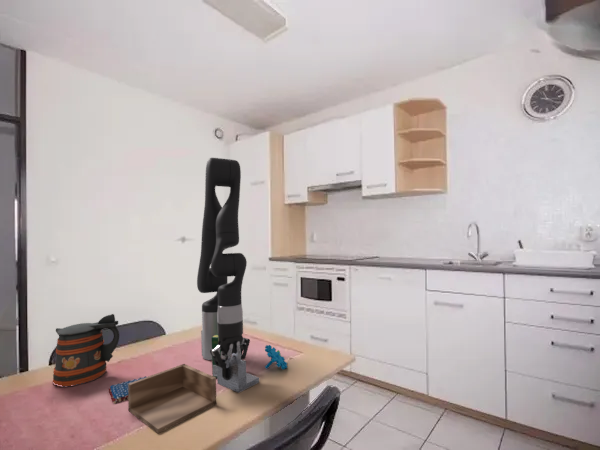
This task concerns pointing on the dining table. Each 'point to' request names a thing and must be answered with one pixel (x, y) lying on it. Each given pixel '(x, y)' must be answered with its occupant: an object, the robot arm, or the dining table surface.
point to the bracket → (237, 376)
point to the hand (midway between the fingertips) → (231, 376)
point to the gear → (275, 357)
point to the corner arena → (171, 396)
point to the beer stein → (83, 351)
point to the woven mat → (120, 391)
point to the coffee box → (214, 367)
